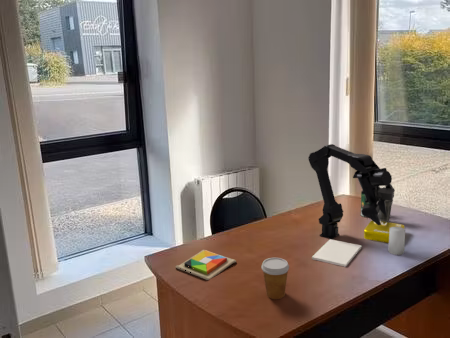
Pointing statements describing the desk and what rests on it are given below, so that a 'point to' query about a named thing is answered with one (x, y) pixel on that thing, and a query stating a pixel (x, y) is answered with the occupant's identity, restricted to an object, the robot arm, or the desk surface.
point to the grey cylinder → (396, 240)
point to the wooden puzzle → (206, 264)
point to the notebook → (337, 252)
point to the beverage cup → (388, 210)
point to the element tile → (379, 231)
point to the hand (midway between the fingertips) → (382, 219)
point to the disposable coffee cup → (275, 277)
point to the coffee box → (363, 203)
